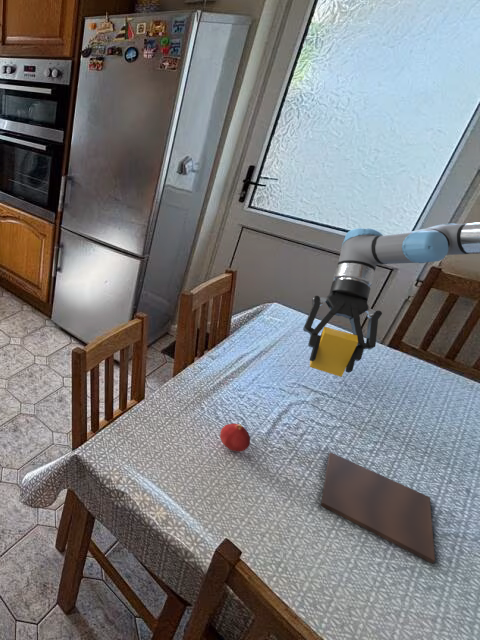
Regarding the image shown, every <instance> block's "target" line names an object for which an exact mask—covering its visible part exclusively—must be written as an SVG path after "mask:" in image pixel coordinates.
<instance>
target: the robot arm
mask: <svg viewBox="0 0 480 640" xmlns="http://www.w3.org/2000/svg"><path fill="white" fill-rule="evenodd" d="M479 254H480V222H470V223H440V224H436V225H432V226H429V227H426V228H425V227H424V228H421V229H416V230H413V231H406V232H400V233H393V234H383V233H382V232H381V231H379V230H378V229H375V228H369V227H367V228H364V227H357V228H353V229H351V230H349V231H347V232H346V234H345V236H344V239H343V242H342V243H341V249H340V254H339V258H338V263H337V265H336V269H335V272H334V275H333V281H332V282H331V286H330V290H329V294H328V295H327V296H325V297H322V296H321V297H320V296H319V295H315V296H313V298H312V299H311V305H312V306H311V309H310V312H309V313H308V315H307V319H306V321H305V323H304V326H303V327H302V331H304V332H306V333H308V334H309V339H308V343H307V347H310V348H312V349H311V353H310V356H309V362H310V361H314V360H315V359H316V355H317V351H318V348H319V344H320V340H321V336H320V335H321V334H320V332H322V331H323V328H324V327H326V326H327V324H328V323H329V322H330V321H331V319H333V317H334V316H336V317H343V318H345V319H348V320H349V324H350V326H351V331H352V334H354V335H357V337H358V344H357V346H356V348H355V350H354V352H353V354H352V356H351V358H350V360H349V363H348V365H347V367H346V369H345V371H344V373H345V372H346V373H348V374H350V373H351V372H353V370H354V366H355V362H359V361H361V360H362V358H363V354H364V350H373V349H374V348H376V345H377V334H378V326H379V325H378V324H379V319H380V318H381V316H382V315H383V311H381V310H374V309H372V308H370V306H369V305H368V300H369V298H370V293H371V287H372V284H373V281H374V276H375V272H376V269H377V266H378V265H395V264H425V263H434V262H440V261H443V260H444V259H445V258H446V256H453V255H455V256H459V255H460V256H461V255H479ZM324 303H325V304H326V306H327V307H328V308H329V312H327V313H326V314H325V316H324V317H323V319H322V320H321V321H320V322H319V323H318V324H317V325H316V326H315V328H313V327H312V326H313V324H314V321H315V319H316V317H317V314H318V312H319V309H320V307H321V306H323V305H324ZM364 313H366V314H367V315H366V316H367V318H369V319H368V321H367V331H366V338H365V337H364V332H363V328H362V324H361V317H360V315H362V314H364ZM319 334H320V335H319ZM364 338H365V339H364Z"/></svg>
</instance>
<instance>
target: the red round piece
mask: <svg viewBox="0 0 480 640" xmlns="http://www.w3.org/2000/svg"><path fill="white" fill-rule="evenodd" d="M219 438H220V439H221V440H220V441H221V443H222V444H223V445H224V446H225V448H227V449H228V450H229V451H231V452H232V451H233V452H243V451H246V450H247V449H248V448H249V447H250V443H251V437H250V434H249V431H247V429H246V428H245V427H244V426H243V425H241V424H240V423H228V424H225V425H224V426H223V427H222V428H221V430H220V434H219Z"/></svg>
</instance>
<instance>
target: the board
mask: <svg viewBox="0 0 480 640" xmlns="http://www.w3.org/2000/svg"><path fill="white" fill-rule="evenodd" d="M322 489H323V490H322V494H321V495H322V496H321V502H320V506H321V507H323V508H325V509H326V510H329V511H330V512H332V513H334V514H336V515H338V516H340V517H342V518H344V519H346V520H348V521H349V522H351V523H353V524H355V525H357V526H359V527H361V528H363V529H365V530H367V531H368V532H371V533H372V534H374V535H376V536H378V537H381V538H382V539H384V540H386V541H388V542H390V543H392V544H394V545H395V546H397V547H399V548H401V549H404V550H405V551H407V552H408V553H411V554H413V555H414V556H417V557H419V558H420V559H422V560H424V561H426V562H428V563H430V564H434V563H435V562H436V554H435V543H434V531H433V520H432V508H431V497H430V496H429V495H427V494H424V493H422V492H420V491H417V490H415V489H413V488H410V487H408V486H406V485H404V484H402V483H399V482H398V481H395V480H393V479H391V478H389V477H386V476H384V475H382V474H380V473H377V472H375V471H374V470H371V469H368V468H366V467H364V466H362V465H359V464H357V463H355V462H353V461H351V460H349V459H346V458H345V457H342V456H341V455H337V454H335V453H333V452H329V453H328V458H327V463H326V470H325V475H324V483H323V488H322Z"/></svg>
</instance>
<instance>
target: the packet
mask: <svg viewBox="0 0 480 640" xmlns="http://www.w3.org/2000/svg"><path fill="white" fill-rule="evenodd" d="M320 336H321V340H320V344H319V348H318V351H317V355H316V359H315V360H314V361H310V360H309V368H311V369H314V370H318V371H322V372H325V373H327V374H330V375H334V376H337V377H341V378H342V377H343V375H344V373H345V371H346V367H347V365H348V363H349V360H350V358H351V356H352V354H353V352H354V350H355V348H356V346H357V344H358V337H357V335H354V334H353V333H350V332H346V331H343V330H339V329H335V328H331V327H329V326H324V328H323V329H322V330H321V333H320Z"/></svg>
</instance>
